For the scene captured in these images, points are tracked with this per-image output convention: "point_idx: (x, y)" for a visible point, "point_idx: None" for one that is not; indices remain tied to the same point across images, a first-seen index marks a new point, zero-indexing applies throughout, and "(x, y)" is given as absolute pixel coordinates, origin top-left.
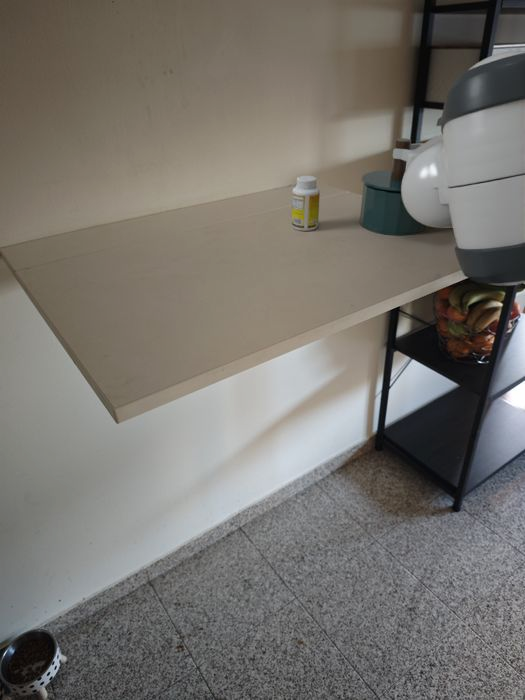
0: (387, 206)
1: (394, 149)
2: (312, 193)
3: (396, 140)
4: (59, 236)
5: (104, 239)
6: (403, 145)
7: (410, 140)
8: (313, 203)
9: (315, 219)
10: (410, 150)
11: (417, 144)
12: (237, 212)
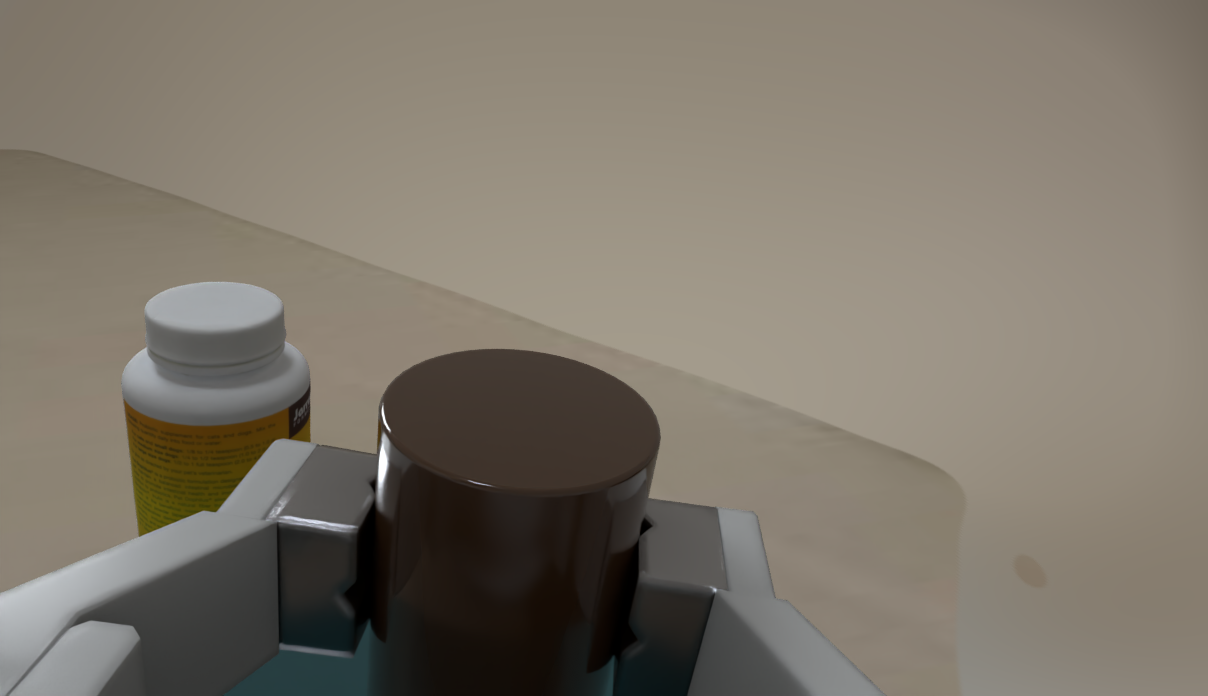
0: None
1: (277, 441)
2: (132, 394)
3: (447, 356)
4: (102, 176)
5: (71, 213)
6: (380, 478)
7: (506, 484)
8: (142, 457)
9: None
10: (3, 611)
11: (799, 687)
12: (398, 357)
